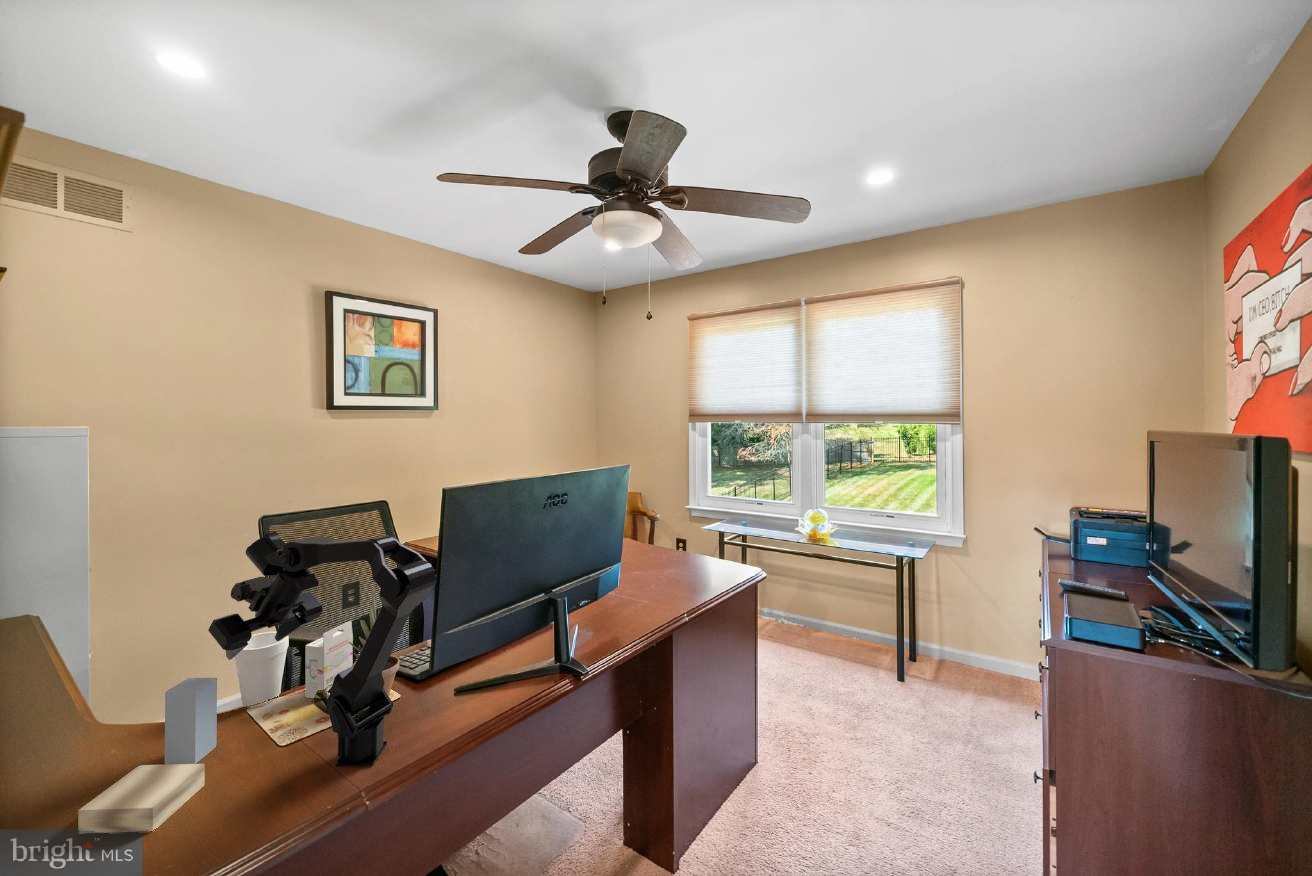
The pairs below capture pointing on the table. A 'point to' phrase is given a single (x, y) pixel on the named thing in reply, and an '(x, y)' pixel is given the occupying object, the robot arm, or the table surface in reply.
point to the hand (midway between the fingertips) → (253, 648)
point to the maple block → (142, 798)
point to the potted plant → (393, 661)
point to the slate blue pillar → (190, 720)
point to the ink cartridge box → (328, 658)
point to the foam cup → (261, 668)
